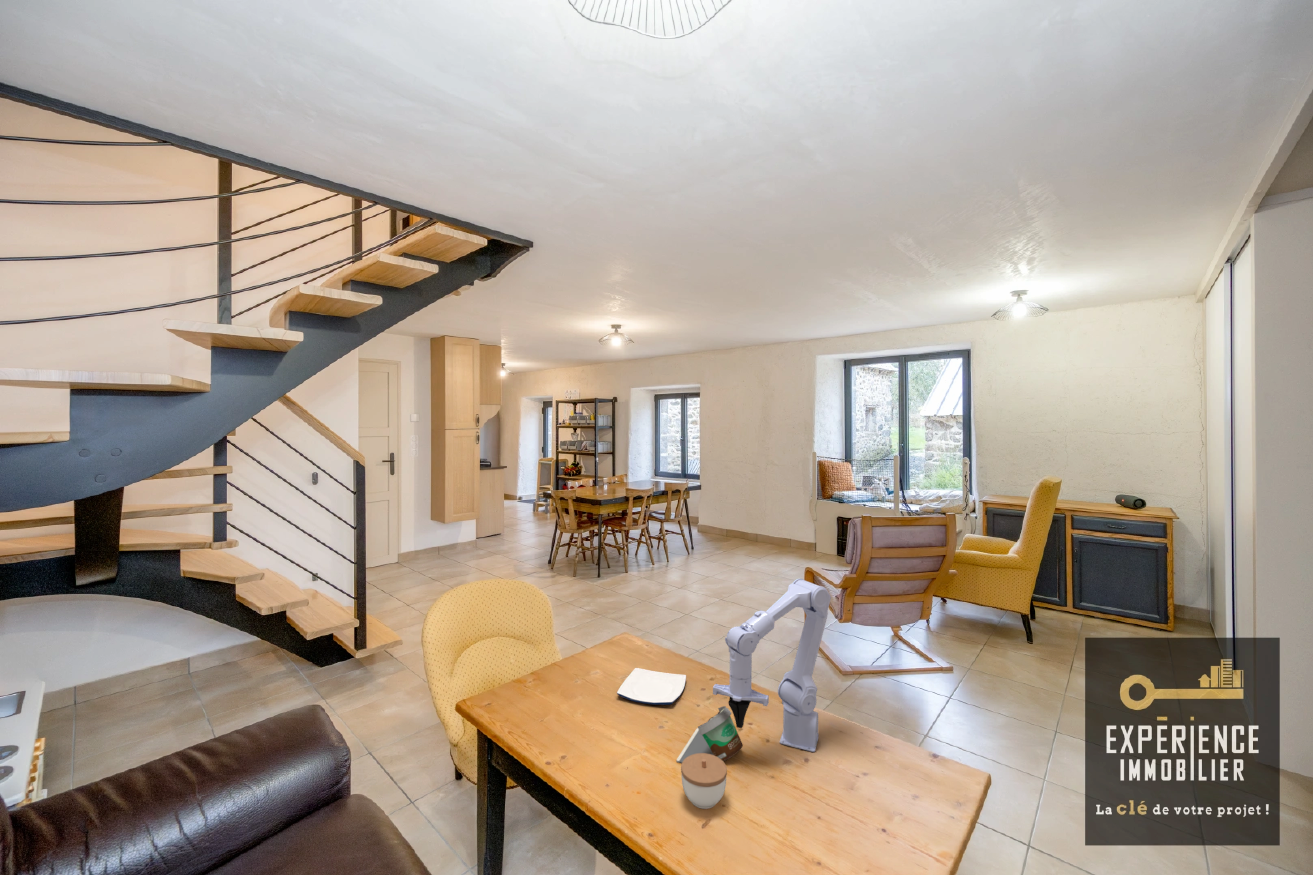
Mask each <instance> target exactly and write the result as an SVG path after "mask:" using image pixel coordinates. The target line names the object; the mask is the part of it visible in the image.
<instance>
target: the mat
mask: <svg viewBox="0 0 1313 875" xmlns="http://www.w3.org/2000/svg"><path fill="white" fill-rule="evenodd" d="M698 753H706V754H711V755H714V754H713V753H712V751H711V749H710V748H709V746H708V744H707V742H706V741H705V739H704V737H703V736H702V735H700V733H699V729H698V727H696V729H695V731H693V734H692V735H691V737H690V738H689V739H688V741H687V742H686V745H684V747H683V749H682V751H681V752H680V754H679V755H678V757H677V758H676V759H675V760H676V763H679V764H682V762H683V761H684V759H685V758H687V757H688V756H690V755H693V754H698Z"/></svg>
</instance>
